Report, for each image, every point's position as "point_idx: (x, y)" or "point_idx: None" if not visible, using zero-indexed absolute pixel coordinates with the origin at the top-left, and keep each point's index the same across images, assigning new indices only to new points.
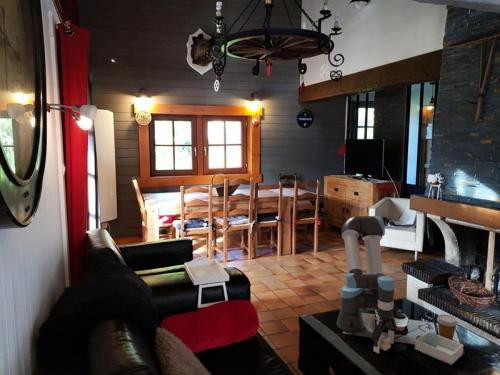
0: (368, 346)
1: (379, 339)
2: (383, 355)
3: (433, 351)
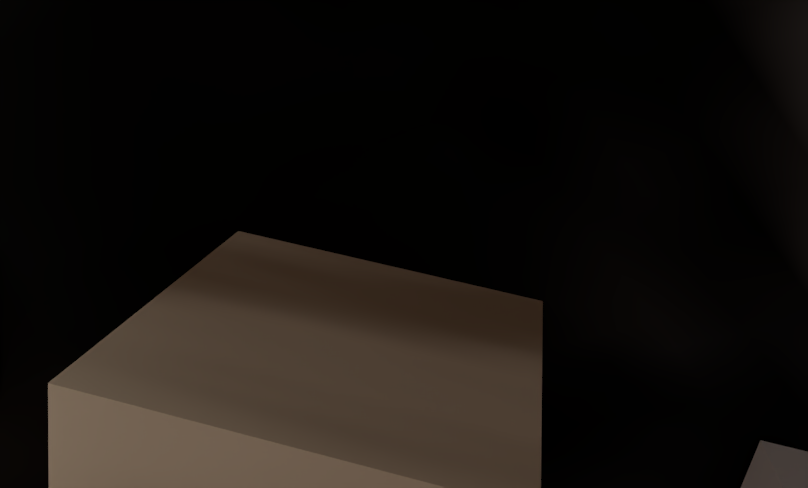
0: (86, 15)
1: (66, 483)
2: (4, 480)
3: None
